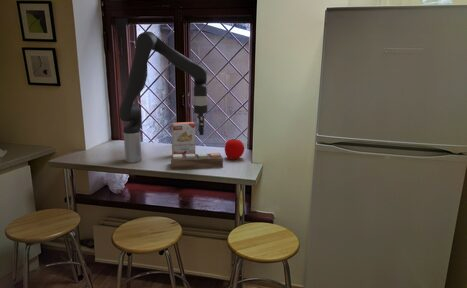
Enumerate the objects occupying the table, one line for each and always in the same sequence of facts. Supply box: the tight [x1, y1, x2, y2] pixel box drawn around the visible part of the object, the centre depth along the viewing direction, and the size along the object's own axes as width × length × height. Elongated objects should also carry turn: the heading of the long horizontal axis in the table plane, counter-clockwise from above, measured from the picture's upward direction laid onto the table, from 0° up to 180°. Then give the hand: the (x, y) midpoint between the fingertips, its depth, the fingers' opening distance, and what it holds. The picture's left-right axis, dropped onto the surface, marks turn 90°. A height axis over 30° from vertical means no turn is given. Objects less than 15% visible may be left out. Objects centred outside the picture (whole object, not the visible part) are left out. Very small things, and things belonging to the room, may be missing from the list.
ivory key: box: [173, 154, 182, 159], centre depth 187 cm, size 5×5×3 cm
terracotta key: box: [209, 152, 220, 158], centre depth 191 cm, size 5×5×3 cm
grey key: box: [186, 153, 196, 159], centre depth 188 cm, size 5×5×3 cm
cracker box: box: [171, 121, 196, 155], centre depth 208 cm, size 14×6×21 cm, turn 112°
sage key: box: [197, 152, 208, 158], centre depth 189 cm, size 5×5×3 cm
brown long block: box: [170, 152, 224, 170], centre depth 189 cm, size 11×29×5 cm, turn 101°
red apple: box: [224, 138, 245, 160], centre depth 203 cm, size 12×12×13 cm
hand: (201, 133), depth 185 cm, fingers open, 8 cm apart
